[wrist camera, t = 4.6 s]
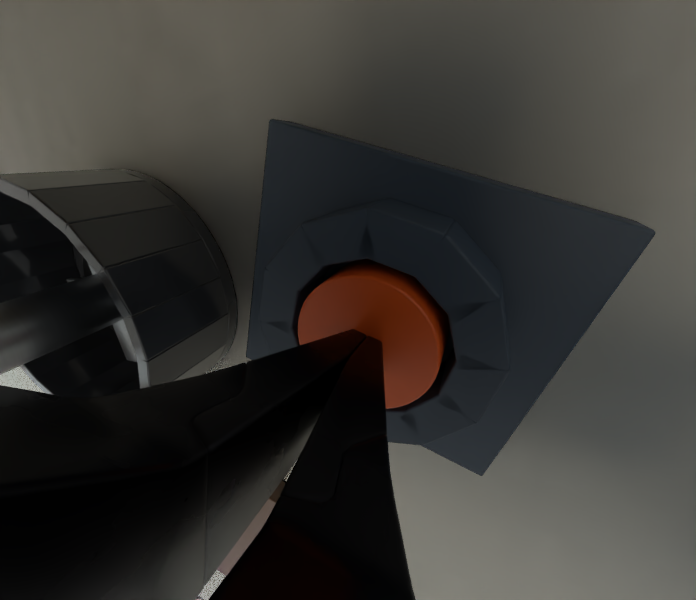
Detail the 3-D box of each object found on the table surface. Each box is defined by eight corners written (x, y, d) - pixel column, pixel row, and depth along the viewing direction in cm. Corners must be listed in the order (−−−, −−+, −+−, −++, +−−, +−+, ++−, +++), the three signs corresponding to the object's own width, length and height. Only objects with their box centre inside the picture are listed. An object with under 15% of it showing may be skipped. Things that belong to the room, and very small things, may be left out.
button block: (639, 222, 8) (702, 253, 6) (483, 451, 12) (479, 527, 10) (290, 121, 10) (224, 112, 8) (262, 343, 15) (213, 382, 12)
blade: (170, 211, 13) (-400, 315, 5) (211, 354, 16) (-118, 587, 7) (71, 216, 16) (-410, 291, 7) (120, 338, 18) (-200, 497, 10)
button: (472, 286, 9) (467, 314, 7) (422, 394, 11) (410, 432, 9) (338, 236, 10) (309, 252, 8) (314, 343, 12) (287, 371, 10)
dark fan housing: (246, 211, 12) (136, 238, 9) (231, 400, 17) (156, 470, 14) (60, 141, 15) (-89, 138, 11) (93, 324, 20) (-2, 365, 16)
